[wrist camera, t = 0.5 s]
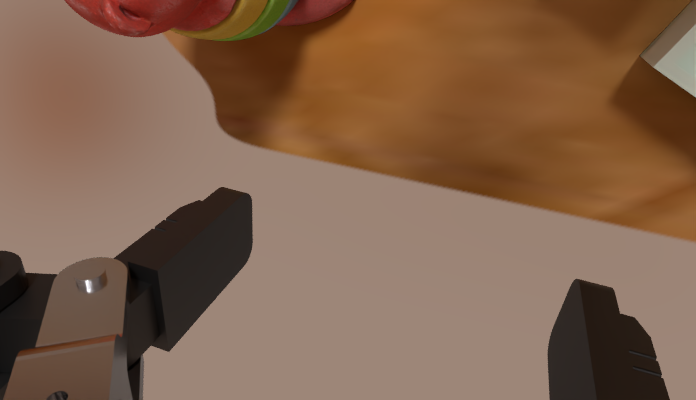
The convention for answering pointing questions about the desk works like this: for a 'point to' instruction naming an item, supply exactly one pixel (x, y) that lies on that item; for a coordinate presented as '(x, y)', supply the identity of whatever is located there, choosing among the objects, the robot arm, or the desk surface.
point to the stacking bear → (202, 16)
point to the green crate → (676, 50)
